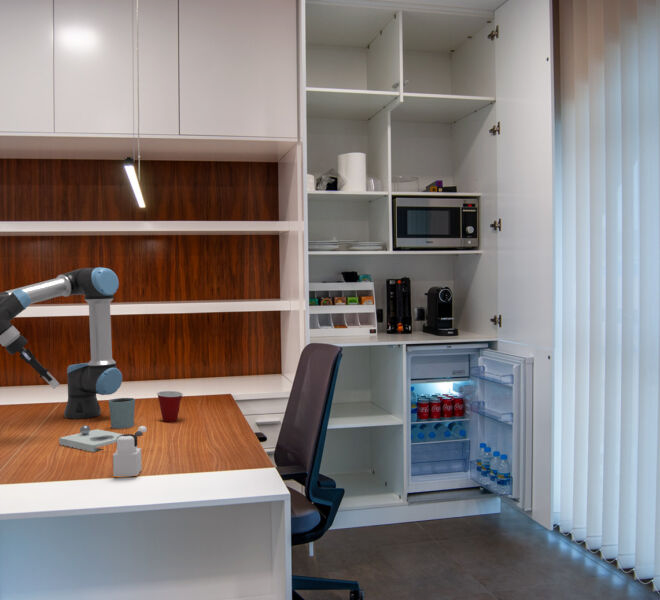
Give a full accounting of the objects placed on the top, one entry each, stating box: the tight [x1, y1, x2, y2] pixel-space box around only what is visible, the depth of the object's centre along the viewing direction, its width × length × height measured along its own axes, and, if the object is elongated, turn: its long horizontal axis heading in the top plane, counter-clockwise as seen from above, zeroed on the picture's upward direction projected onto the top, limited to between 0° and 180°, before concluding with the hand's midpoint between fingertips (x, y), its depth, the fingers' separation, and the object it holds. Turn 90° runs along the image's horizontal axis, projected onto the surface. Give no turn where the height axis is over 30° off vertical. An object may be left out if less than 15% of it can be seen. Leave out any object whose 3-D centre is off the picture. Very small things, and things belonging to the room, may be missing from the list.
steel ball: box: [79, 424, 91, 435], centre depth 244 cm, size 4×4×4 cm
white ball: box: [137, 425, 148, 433], centre depth 253 cm, size 4×4×4 cm
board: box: [58, 428, 124, 453], centre depth 240 cm, size 20×16×2 cm
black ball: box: [134, 430, 144, 437], centre depth 247 cm, size 3×3×3 cm
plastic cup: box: [156, 390, 184, 423], centre depth 277 cm, size 11×11×12 cm
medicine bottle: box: [112, 433, 143, 477], centre depth 202 cm, size 7×7×12 cm
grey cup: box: [108, 397, 136, 430], centre depth 262 cm, size 10×10×12 cm
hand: (56, 386), depth 252 cm, fingers closed
